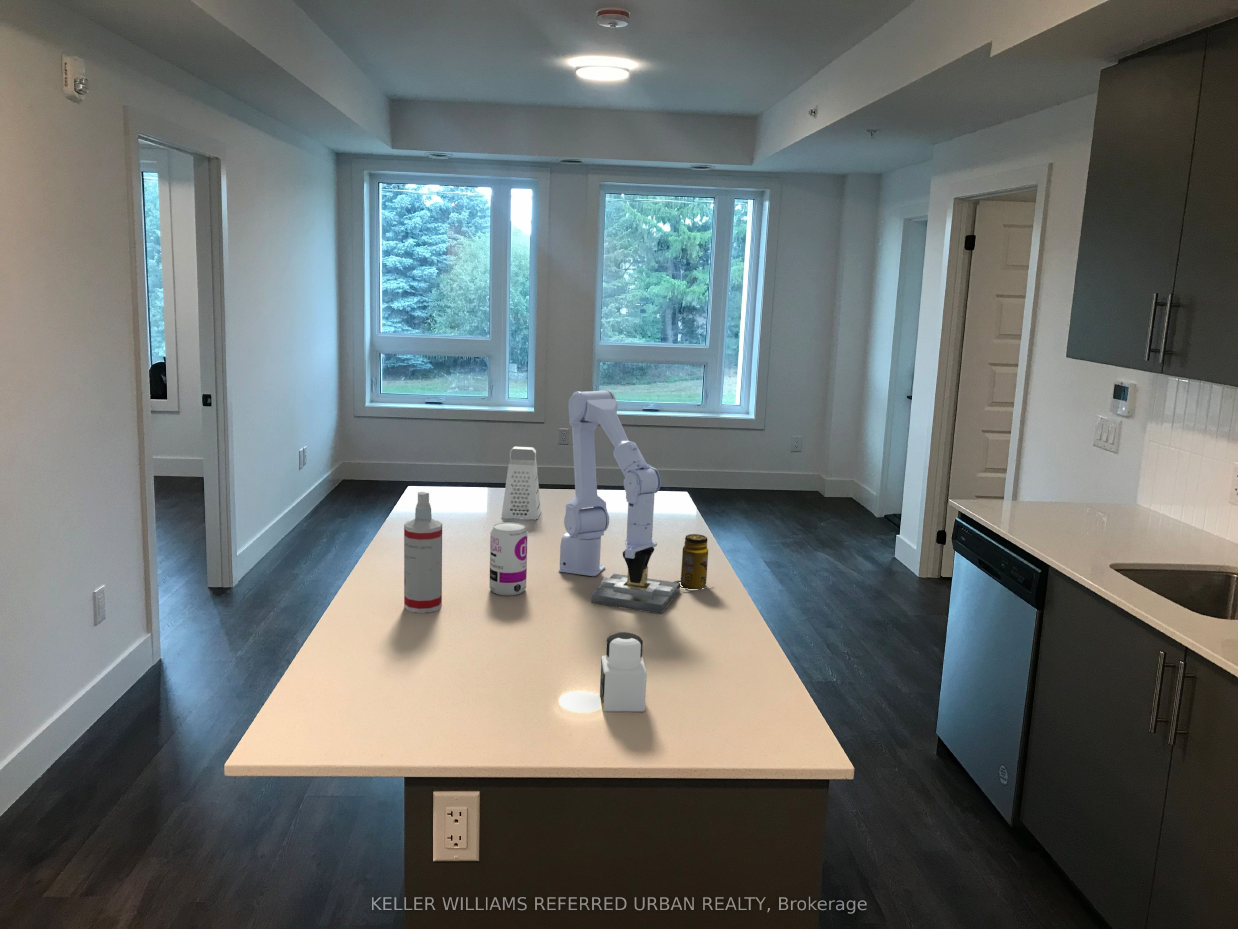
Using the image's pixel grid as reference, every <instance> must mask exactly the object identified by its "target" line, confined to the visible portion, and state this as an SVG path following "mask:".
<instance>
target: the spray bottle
mask: <svg viewBox="0 0 1238 929" xmlns="http://www.w3.org/2000/svg"><path fill="white" fill-rule="evenodd" d="M403 533H404V534H403V553H404V555H403V565H404V566H403V577H404V578H403V581H404V582H403V598H404V599H403V603H404V607H403V608H404V609H405V608H406V609H407V610H406V609H405V610H406V611H408V612H409V613H410V612H411V613H415V612H418V613H417V614H426V613H425V612H430V613H433V612H436V611H438V610H440V609H441V607H442V606H443V604H442V603H443V601H442V600H443V598H442V597H443V523H442V522H440V521H439V520H435V519H433V518H432V507H431V503H430V493H429V492H425V491H418V492H417V503H416V505H415V514H414V518H413V519H412V520H409V521H406V522H405V523H404V524H403Z"/></svg>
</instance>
